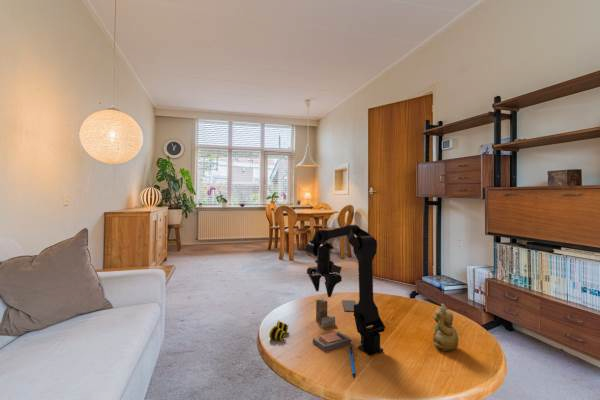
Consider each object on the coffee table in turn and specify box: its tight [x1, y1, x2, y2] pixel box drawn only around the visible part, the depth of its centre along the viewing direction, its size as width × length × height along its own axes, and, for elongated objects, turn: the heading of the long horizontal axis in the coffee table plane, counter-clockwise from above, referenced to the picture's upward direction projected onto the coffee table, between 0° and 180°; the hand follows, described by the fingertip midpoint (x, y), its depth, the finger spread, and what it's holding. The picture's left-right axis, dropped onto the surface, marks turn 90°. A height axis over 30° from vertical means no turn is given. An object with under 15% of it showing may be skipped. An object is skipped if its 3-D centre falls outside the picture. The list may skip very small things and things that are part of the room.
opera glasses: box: [268, 319, 289, 341], centre depth 117 cm, size 10×5×5 cm, turn 166°
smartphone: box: [341, 299, 357, 313], centre depth 151 cm, size 7×1×15 cm
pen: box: [349, 346, 356, 379], centre depth 99 cm, size 1×19×1 cm, turn 174°
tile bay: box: [312, 331, 352, 352], centre depth 112 cm, size 8×12×2 cm, turn 120°
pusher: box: [315, 298, 336, 328], centre depth 130 cm, size 8×6×9 cm
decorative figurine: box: [433, 303, 460, 353], centre depth 109 cm, size 10×8×15 cm
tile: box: [318, 332, 342, 345], centre depth 113 cm, size 6×6×2 cm
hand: (323, 294), depth 132 cm, fingers open, 9 cm apart
